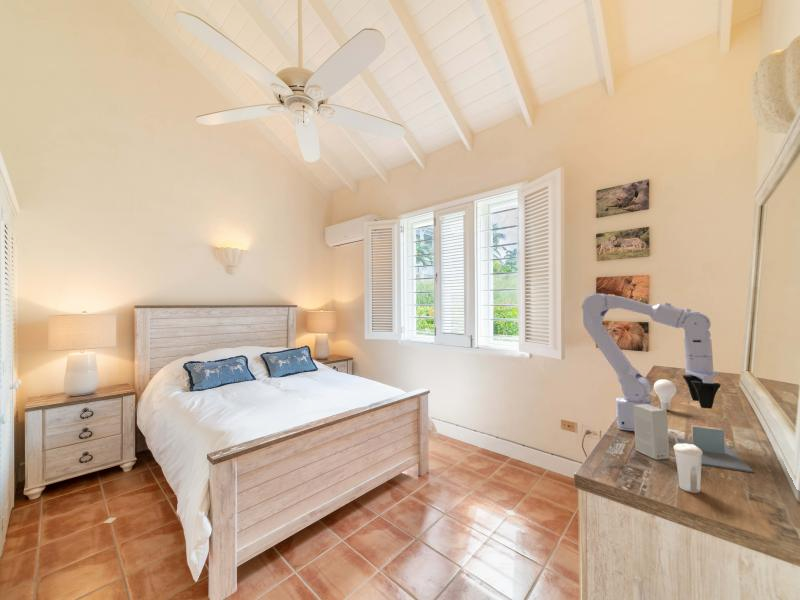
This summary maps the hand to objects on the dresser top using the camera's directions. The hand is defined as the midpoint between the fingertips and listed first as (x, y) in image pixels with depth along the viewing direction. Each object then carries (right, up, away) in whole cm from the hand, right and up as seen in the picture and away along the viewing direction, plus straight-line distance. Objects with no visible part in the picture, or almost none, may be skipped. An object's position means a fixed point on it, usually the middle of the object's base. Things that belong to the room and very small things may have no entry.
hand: (701, 404), depth 93 cm
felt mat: (-6, -10, -8) cm, 14 cm away
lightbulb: (+11, -11, +27) cm, 31 cm away
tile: (-5, -10, -8) cm, 13 cm away
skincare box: (-20, -11, -8) cm, 24 cm away
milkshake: (-24, -10, -23) cm, 35 cm away
